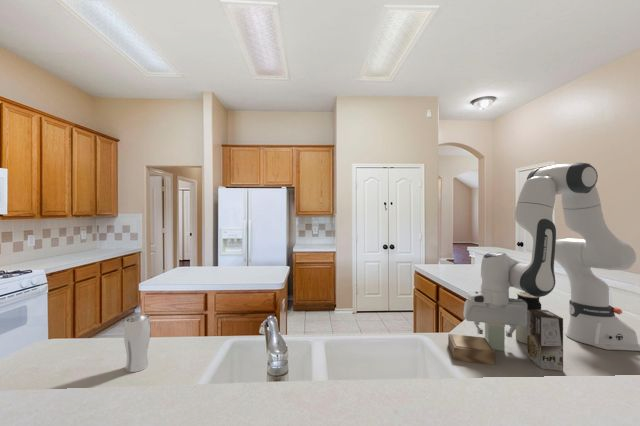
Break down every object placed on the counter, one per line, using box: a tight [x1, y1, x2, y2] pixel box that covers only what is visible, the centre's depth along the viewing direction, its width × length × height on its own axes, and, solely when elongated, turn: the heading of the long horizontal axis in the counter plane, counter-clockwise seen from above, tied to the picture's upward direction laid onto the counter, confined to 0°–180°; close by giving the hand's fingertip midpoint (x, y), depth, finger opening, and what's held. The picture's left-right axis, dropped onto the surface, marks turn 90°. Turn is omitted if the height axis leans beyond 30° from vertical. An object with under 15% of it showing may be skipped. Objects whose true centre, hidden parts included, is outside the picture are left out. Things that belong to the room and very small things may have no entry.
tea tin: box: [484, 323, 506, 351], centre depth 107 cm, size 5×5×9 cm
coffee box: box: [527, 309, 564, 372], centre depth 95 cm, size 9×6×16 cm
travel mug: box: [515, 291, 542, 345], centre depth 112 cm, size 8×8×18 cm
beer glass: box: [123, 314, 152, 373], centre depth 90 cm, size 7×7×15 cm
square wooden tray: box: [447, 333, 496, 366], centre depth 101 cm, size 12×12×4 cm
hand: (494, 335), depth 107 cm, fingers open, 8 cm apart
